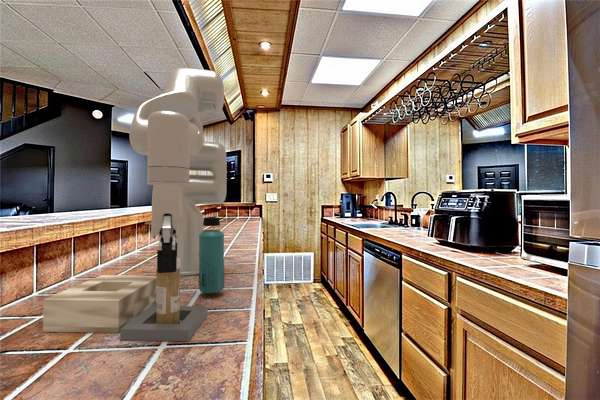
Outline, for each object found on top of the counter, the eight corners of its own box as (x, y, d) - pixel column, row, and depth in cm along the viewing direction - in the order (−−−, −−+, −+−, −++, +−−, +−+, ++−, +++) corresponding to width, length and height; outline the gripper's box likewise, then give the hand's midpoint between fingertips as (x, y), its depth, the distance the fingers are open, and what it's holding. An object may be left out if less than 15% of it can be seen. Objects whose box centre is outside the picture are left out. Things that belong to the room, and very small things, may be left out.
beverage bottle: (229, 292, 86) (230, 216, 86) (214, 300, 80) (215, 218, 79) (208, 290, 88) (208, 215, 88) (192, 297, 82) (192, 217, 82)
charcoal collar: (151, 314, 70) (151, 305, 70) (207, 315, 70) (207, 306, 70) (120, 340, 58) (120, 329, 58) (188, 341, 58) (188, 330, 58)
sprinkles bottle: (182, 328, 64) (183, 259, 63) (157, 333, 61) (157, 261, 61) (177, 320, 67) (177, 255, 67) (153, 325, 65) (153, 257, 65)
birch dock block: (101, 299, 79) (101, 274, 79) (159, 300, 79) (159, 275, 79) (43, 331, 61) (43, 299, 61) (118, 332, 61) (118, 300, 61)
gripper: (151, 179, 70) (150, 260, 70) (142, 174, 54) (141, 278, 54) (188, 180, 73) (187, 258, 73) (190, 175, 56) (189, 275, 57)
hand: (167, 266), depth 63 cm, fingers open, 9 cm apart
